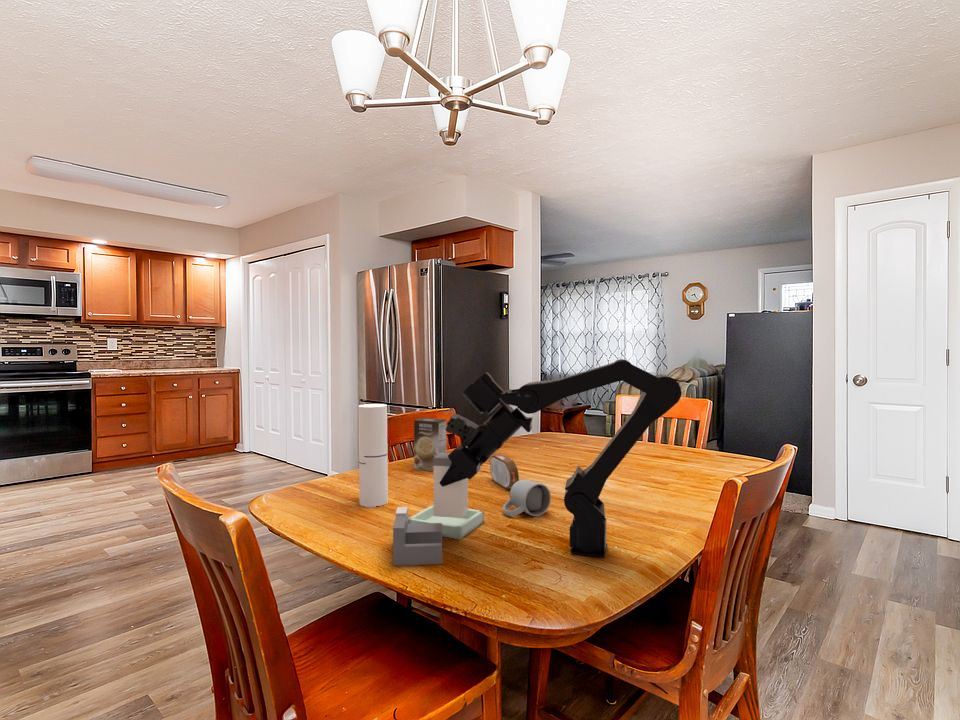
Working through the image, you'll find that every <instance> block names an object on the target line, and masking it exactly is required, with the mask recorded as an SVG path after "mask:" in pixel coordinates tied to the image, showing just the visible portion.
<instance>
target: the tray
mask: <svg viewBox="0 0 960 720" xmlns="http://www.w3.org/2000/svg"><path fill="white" fill-rule="evenodd" d="M423 523H442V538H447V537H449V538H448V539H452V538H454V540H459V541H460V540H462V539H464V537H466V536H467V535H468V534H470V533H471V532H472V531H474V530H475V529H477V528H478V527H480V525H482V524H483V523H485V511H484V510H478V509H472V508H468V511H467V512H466V514H465V515H464V516H463V518H453V517H439V516H434V503H433V504H432V505H430V506H428V507H426V508H424V509H423V510H421V511H418V513H416V514H413V515H411V516H410V517H408V524H423Z"/></svg>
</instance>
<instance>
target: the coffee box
mask: <svg viewBox="0 0 960 720" xmlns="http://www.w3.org/2000/svg"><path fill="white" fill-rule="evenodd" d="M446 427H447V419H446V418H445V419H443V418H436V417H435V418H434V417H433V418H432V417H420V418H417V419H414V420H413V469H414V470H419V471H425V472H426V471H428V472H434V466H433V458H434V457H435V456H437V455H438V454H439V453H447V431H446V430H445V429H446Z"/></svg>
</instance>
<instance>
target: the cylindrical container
mask: <svg viewBox="0 0 960 720" xmlns="http://www.w3.org/2000/svg"><path fill="white" fill-rule="evenodd" d="M357 409H358V474H359V475H358V482H359V483H358V484H359V485H358V489H359V492H358V493H359V497H358V499H359V500H358V501H359V503H360V504H359V505H360V506H361V505H362V506H361V507H363V506H365V507H364V508H377V507H376V506H380V507H383V506H382V505H384V504H386V503H387V504H388V503H389V490H388V489H389V486H388V485H389V484H388V483H389V481H388V480H389V479H388V478H389V477H388V476H389V474H388V472H389V471H388V468H389V465H388V464H389V463H388V461H389V458H388V455H389V454H388V405H387V404H386V403H365V404H359V405H358V407H357ZM387 504H386V505H387ZM384 506H385V505H384Z"/></svg>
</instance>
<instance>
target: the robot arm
mask: <svg viewBox="0 0 960 720" xmlns="http://www.w3.org/2000/svg"><path fill="white" fill-rule="evenodd" d="M618 382H624V383H626V384H628V385H629V386H632V387H634V388H635V389H637V390H639V391H641V393H640V396H639V398H638V400H637V402H636V405H635V407H634V408H633V411H632V412H631V413H630V415H629V416H628V417H627V418H626V419H625V421H624V422H623V424H622V425H621V426H620V427H619V429H618V430H617V431H616V432H615V434H614V435H613V436H612V438H611V439H610V440H609V441H608V443H607V444H606V446H604V448H603V449H602V450H601V451H600V453H599V454H598V455H597V457H596V458H595V460H593V462H592V463H591V464H590V465H588V467H586V468H584V469H582V467H580V466H579V465H578V466H577V467H576V469H575V470H574V473H573V474H572V476H571V477H569V478H567V479H566V481H565V487H564V490H565V492H564V497H563V502H564V507H565V509H566V510H567V511H568V512H569V513H570V514H572V515H573V518H572V522H571V524H570V525H569V547H570V548H571V549H570V554H572V555H577V556H578V555H579V556H586V557H595V558H596V557H597V558H606V553H607V550H608V543H607V518H606V513H605V502H603V501H602V500H601V498H600V495H601V493H602V490H603V488H604V486H605V484H606V482H607V480H608V478H609V477H610V476H611V475H612V474H613V473H614V471H615V470H616V469H617V468H618V466H619V465H620V463H621V462H622V461H623V459H624V458H625V457H626V456H628V453H629V452H630V451H631V450H632V448H633V447H634V445H636V443H637V442H638V441H639V439H640V438H641V437H642V436H643V435H644V433H645V432H646V431H647V429H648V428H649V427H650V425H652V424H653V423H654V422H655V421H657V420H658V419H659V418H661V417H662V416H664V415H665V414H666V413H668V412H669V410H671V409H672V408H673V407H674V406H675V405H676V404H677V403H679V401H680V399H682V398H681V397H682V388H681V385H680V383H679V382H678V381H677V380H676V379H675V378H672V377H670V376H668V375H666V374H663V373H662V374H661V373H660V374H656V375H654V374H652V373H650V372H648V371H646V370H644V369H642V368H640V367H637V366H636V365H634V364H632V363H631V362H630V361H628V360H626V359H622V358H620V359H616V360H615V361H613V362H611V363H607V364H605V365H601V366H597V367H595V368H590V369H588V370H585V371H581V372H578V373H575V374H571V375H568V376H566V377H562V378H557V379H548V380H538V381H530V382H527V383H525V384H524V385H523V384H522V386H520V388H516V389H511V388H510V389H507V390H504V389H503V388H502V387H501V386H500V385H499V384H498V382H496V381H495V379H494V378H493V376H492V375H491V374H490V373H489V372H484V373H483V374H482V375H481V376H480V377H478V379H476V380H475V381H474V382H472V383H471V384H469V386H468V387H466V388H465V390H464V391H463V392H462V396H463V397H464V398H465V399H466V400H467V401H468V402H469V403H470V404H471V405H472V406H473V407H474V409H476V411H478V412H479V413H480V415H482V414H486V413H487V414H488V415H489V414H491V413H492V412H493V411H494V410H495V409H496V408H497V407H498V406H499V405H501V406H500V407H499V408H498V409H497V410H496V411H495V412H494V413H493V414H492V415H491V416H490V417H488V419H487V420H486V421H484V422H482V423H480V424H479V425H478V424H477V423H475V422H474V421H472V420H470V419H468V418H466V417H464V416H462V415H460V414H457V413H455V414H452V415H451V416H450V418H449V420H448V421H446V429H445V430H446V433H448V434H453V435H454V436H455V435H456V436H457V437H458V438H461V439H462V440H463V441H462V444H461V445H458V446H457V447H455V448H454V449H453V450H452V451H451V452H449V453H450V454H449V455H448V457H449V459H450V460H451V466H450V467H449V469H448V470H447V472H446V473H445V475H444V476H443V478H442V479H441V481H440V485H441V486H442V487H444V486H446V485H449V484H452V483H455V482H458V481H460V480H463V479H466V478H468V480H472V479H473V478H474V476H476V475H477V474H478V473H479V472H480V470H481V467H482V466H483V465H484V464H485V463H486V462H487V461H488V460H490V458H491V456H493V455H495V453H496V452H497V451H498V450H499V449H501V448H502V446H503V445H504V444H505V443H506V442H507V441H509V439H510V438H512V437H513V435H514V434H515V433H516V432H518V430H520V429H521V428H523V429H524V430H525V431H526V432H527V433H530V432H532V429H533V423H532V422H533V417H532V416H525V414H528V415H531V414H536V413H537V412H540V411H542V410H543V409H546V408H547V407H549V406H552V405H553V404H555V403H557V402H558V401H560V400H563V399H564V398H568V397H570V396H574V395H578V394H581V393H584V392H587V391H591V390H593V389H597V388H601V387H603V386H607V385H612V384H614V383H618ZM512 406H514V407H516V408H515V409H514V408H513V407H512ZM524 413H525V414H524Z"/></svg>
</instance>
